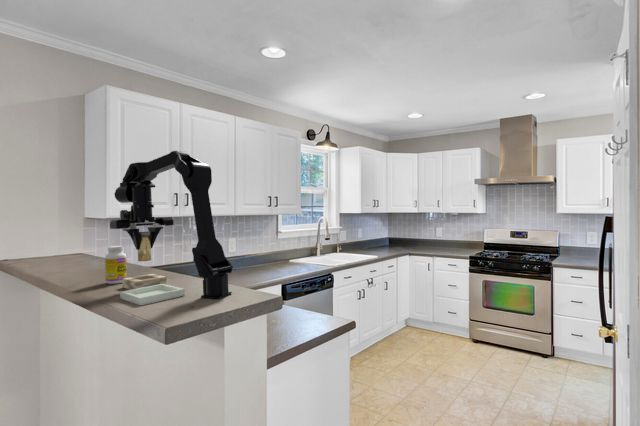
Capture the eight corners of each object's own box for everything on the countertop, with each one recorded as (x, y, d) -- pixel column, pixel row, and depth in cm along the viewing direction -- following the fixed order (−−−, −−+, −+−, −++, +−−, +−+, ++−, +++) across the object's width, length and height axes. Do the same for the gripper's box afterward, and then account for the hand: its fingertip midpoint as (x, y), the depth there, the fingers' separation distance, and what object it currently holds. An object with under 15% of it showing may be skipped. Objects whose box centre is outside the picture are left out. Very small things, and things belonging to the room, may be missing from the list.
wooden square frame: (166, 285, 126) (166, 276, 126) (136, 291, 119) (136, 281, 119) (152, 282, 133) (152, 273, 133) (123, 287, 125) (122, 278, 125)
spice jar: (155, 259, 126) (154, 231, 126) (144, 261, 121) (143, 232, 121) (144, 259, 128) (143, 231, 127) (133, 261, 123) (132, 232, 123)
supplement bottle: (118, 284, 130) (116, 247, 130) (101, 284, 132) (99, 247, 131) (131, 280, 137) (130, 245, 136) (115, 280, 138) (114, 245, 138)
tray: (184, 295, 111) (184, 288, 111) (140, 305, 101) (140, 298, 101) (163, 290, 120) (162, 283, 120) (120, 298, 110) (119, 291, 110)
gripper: (158, 202, 136) (159, 245, 137) (102, 203, 122) (104, 250, 123) (173, 201, 129) (175, 246, 130) (116, 202, 115) (118, 252, 115)
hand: (144, 248), depth 124 cm, fingers closed on spice jar, 4 cm apart
